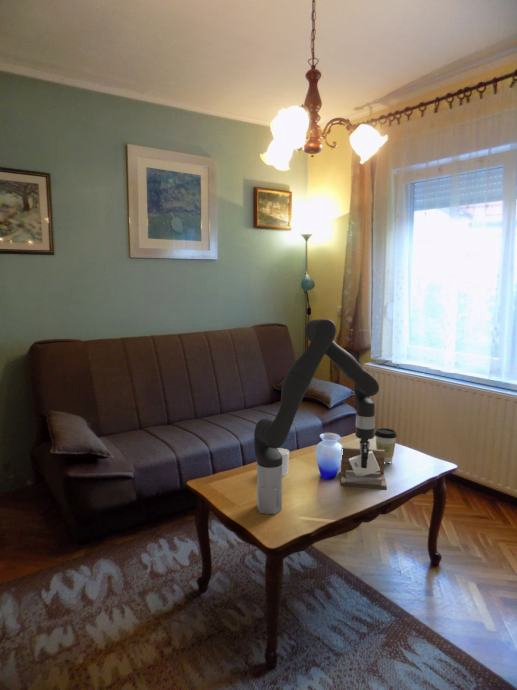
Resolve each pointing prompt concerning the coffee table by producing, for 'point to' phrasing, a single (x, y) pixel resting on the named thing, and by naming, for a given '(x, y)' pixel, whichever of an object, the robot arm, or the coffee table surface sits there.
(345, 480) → the base
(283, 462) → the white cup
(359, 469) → the white thin panel
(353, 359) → the robot arm
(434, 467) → the coffee table surface
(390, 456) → the coffee cup
